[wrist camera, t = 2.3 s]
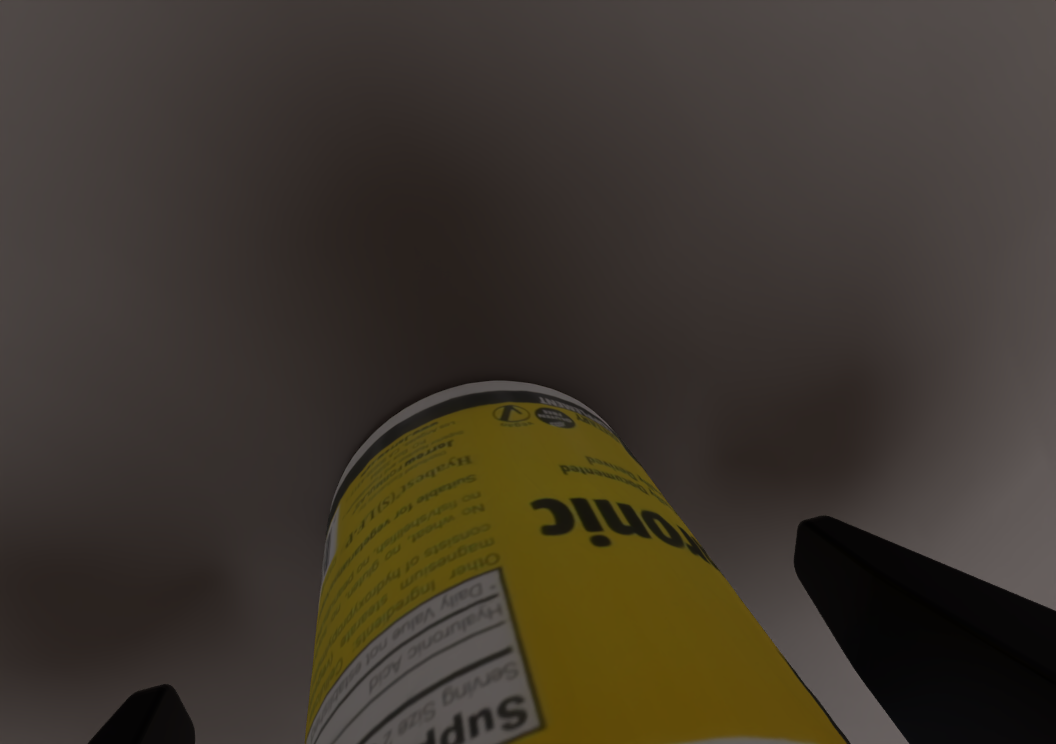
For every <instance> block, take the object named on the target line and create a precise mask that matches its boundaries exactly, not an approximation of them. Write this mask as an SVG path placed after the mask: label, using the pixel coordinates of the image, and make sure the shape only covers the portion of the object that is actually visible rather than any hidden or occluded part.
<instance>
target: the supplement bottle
mask: <svg viewBox="0 0 1056 744" xmlns="http://www.w3.org/2000/svg"><path fill="white" fill-rule="evenodd" d="M305 744H850V742H849V741H848V739H847V738H846V736H845V735H844V734H843V733H842V731H841V730H840V729H839V728H838V727H837V725H836V724H835V723H834V721H833V720H832V718H831V717H830V716H829V714H828V713H827V712H826V710H825V709H824V707H823V706H822V705H821V703H820V702H819V701H818V699H817V698H816V697H815V696H814V695H813V693H812V692H811V691H810V690H809V689H808V688H807V686H806V685H805V684H804V683H803V681H802V680H801V679H800V677H799V676H798V675H797V673H796V672H795V670H794V669H793V668H792V667H791V665H790V664H789V663H788V662H787V660H786V659H785V658H784V656H783V655H782V654H781V652H780V651H779V650H778V648H777V647H776V646H775V644H774V643H773V642H772V640H771V639H770V638H769V636H768V635H767V634H766V632H765V631H764V630H763V628H762V627H761V626H760V624H759V623H758V622H757V620H756V619H755V618H754V616H753V615H752V614H751V612H750V611H749V610H748V608H747V607H746V606H745V604H744V603H743V602H742V600H741V599H740V598H739V596H738V595H737V594H736V592H735V591H734V589H733V588H732V587H731V585H730V584H729V582H728V581H727V580H726V579H725V577H724V576H723V574H722V573H721V572H720V571H719V569H718V568H717V567H716V565H715V564H714V563H713V562H712V560H711V559H710V558H709V556H708V555H707V553H706V552H705V550H704V549H703V548H702V546H701V545H700V544H699V542H698V541H697V540H696V538H695V537H694V536H693V534H692V533H691V532H690V530H689V529H688V528H687V526H686V525H685V524H684V522H683V521H682V520H681V519H680V517H679V516H678V515H677V513H676V512H675V511H674V509H673V508H672V507H671V506H670V504H669V503H668V502H667V501H666V499H665V498H664V497H663V495H662V494H661V492H660V491H659V490H658V488H657V487H656V486H655V484H654V483H653V481H652V480H651V479H650V477H649V476H648V475H647V473H646V472H645V470H644V469H643V467H642V466H641V465H640V464H639V462H638V461H637V460H636V459H635V457H634V456H633V455H632V453H631V452H630V451H629V449H628V448H627V447H626V445H625V444H624V443H623V442H622V441H621V439H620V438H619V437H618V435H617V434H616V433H615V432H614V431H613V430H612V429H611V427H610V426H609V425H608V424H607V423H606V422H605V421H604V420H603V419H602V418H601V417H600V416H598V415H597V414H596V413H595V412H594V411H593V410H591V409H590V408H588V407H587V406H586V405H584V404H583V403H581V402H580V401H578V400H576V399H574V398H572V397H570V396H568V395H566V394H564V393H561V392H559V391H556V390H554V389H551V388H547V387H544V386H540V385H536V384H530V383H525V382H515V381H485V382H476V383H469V384H464V385H460V386H456V387H452V388H449V389H446V390H443V391H440V392H438V393H435V394H433V395H430V396H428V397H426V398H424V399H422V400H419V401H418V402H416V403H414V404H412V405H410V406H409V407H407V408H405V409H403V410H402V411H400V412H399V413H398V414H396V415H395V416H393V417H392V418H390V419H389V420H388V421H387V422H385V423H384V424H383V425H382V426H381V427H380V428H378V429H377V430H376V431H375V432H374V433H373V434H372V435H371V436H370V437H369V438H368V439H367V441H366V442H365V443H364V444H363V445H362V446H361V447H360V449H359V450H358V451H357V452H356V454H355V455H354V456H353V458H352V459H351V461H350V462H349V464H348V466H347V467H346V469H345V471H344V473H343V475H342V477H341V479H340V482H339V484H338V486H337V489H336V492H335V494H334V498H333V501H332V505H331V510H330V515H329V519H328V525H327V531H326V542H325V550H324V558H323V566H322V578H321V587H320V596H319V605H318V617H317V627H316V637H315V648H314V659H313V668H312V677H311V686H310V696H309V705H308V714H307V724H306V734H305Z"/></svg>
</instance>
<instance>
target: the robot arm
mask: <svg viewBox="0 0 1056 744" xmlns="http://www.w3.org/2000/svg"><path fill="white" fill-rule="evenodd" d="M794 567H795V571H796V574H797V576H798V578H799V580H800V581H801V583H802V585H803V586H804V588H805V590H806V591H807V593H808V595H809V596H810V598H811V599H812V601H813V603H814V604H815V606H816V608H817V609H818V611H819V613H820V614H821V616H822V618H823V619H824V621H825V623H826V624H827V626H828V627H829V629H830V631H831V632H832V634H833V636H834V637H835V639H836V641H837V642H838V644H839V646H840V647H841V649H842V650H843V652H844V654H845V655H846V657H847V658H848V660H849V661H850V663H851V665H852V666H853V668H854V669H855V671H856V672H857V673H858V675H859V676H860V678H861V679H862V680H863V682H864V683H865V685H866V686H867V687H868V689H869V690H870V691H871V693H872V694H873V695H874V697H875V698H876V699H877V701H878V702H879V703H880V705H881V706H882V707H883V709H884V710H885V712H886V713H887V714H888V716H889V717H890V718H891V720H892V721H893V722H894V724H895V725H896V726H897V728H898V729H899V730H900V732H901V733H902V734H903V736H904V737H905V738H906V740H907V741H908V742H909V744H1056V611H1055V610H1053V609H1050V608H1048V607H1045V606H1043V605H1041V604H1038V603H1036V602H1033V601H1031V600H1029V599H1026V598H1024V597H1021V596H1019V595H1017V594H1014V593H1012V592H1009V591H1007V590H1005V589H1002V588H1000V587H998V586H995V585H993V584H990V583H988V582H986V581H983V580H981V579H978V578H976V577H974V576H971V575H969V574H966V573H964V572H962V571H959V570H957V569H954V568H952V567H950V566H947V565H945V564H943V563H940V562H938V561H935V560H933V559H931V558H928V557H926V556H923V555H921V554H919V553H916V552H914V551H911V550H909V549H907V548H904V547H902V546H899V545H897V544H895V543H892V542H890V541H888V540H885V539H883V538H880V537H878V536H876V535H873V534H871V533H868V532H866V531H864V530H861V529H859V528H856V527H854V526H852V525H849V524H847V523H844V522H842V521H840V520H837V519H835V518H833V517H830V516H818V517H814V518H810V519H807V520H803V521H801V523H800V524H799V525H798V529H797V537H796V545H795V553H794ZM88 744H195V730H194V726H193V723H192V720H191V719H190V717H189V715H188V713H187V711H186V709H185V707H184V705H183V703H182V702H181V700H180V698H179V696H178V694H177V692H176V690H175V689H174V688H173V687H172V686H171V685H169V684H163V685H159V686H155V687H151V688H147V689H144V690H140V691H137V692H135V693H134V694H132V695H131V696H130V697H129V698H128V699H127V700H126V701H125V702H124V703H123V704H122V705H121V707H120V708H119V709H118V710H117V711H116V712H115V713H114V714H113V716H112V717H111V718H110V719H109V720H108V721H107V722H106V723H105V725H104V726H103V727H102V728H101V729H100V730H99V731H98V732H97V734H96V735H95V736H94V737H93V738H92V739H91V740H90V741H89V742H88Z"/></svg>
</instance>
